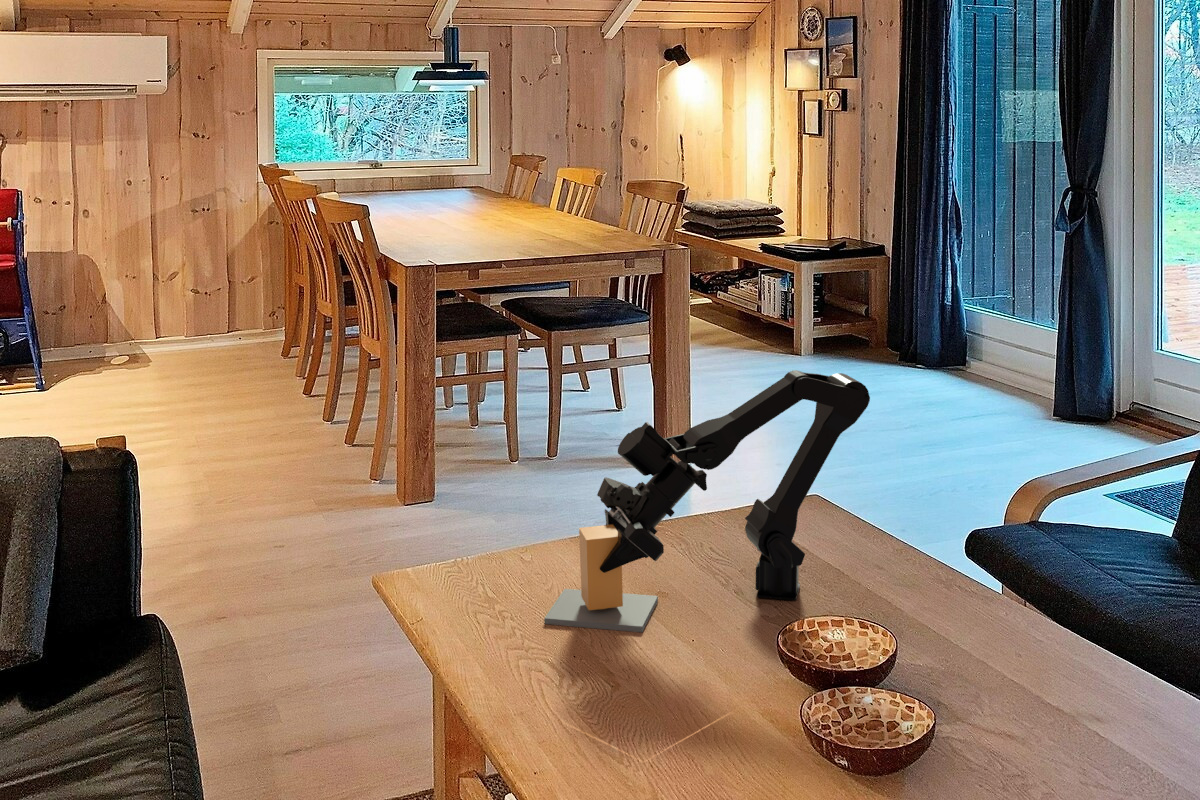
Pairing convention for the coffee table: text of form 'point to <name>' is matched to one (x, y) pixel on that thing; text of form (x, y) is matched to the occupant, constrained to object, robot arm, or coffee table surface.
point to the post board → (602, 612)
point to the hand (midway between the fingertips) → (597, 564)
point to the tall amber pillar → (594, 583)
